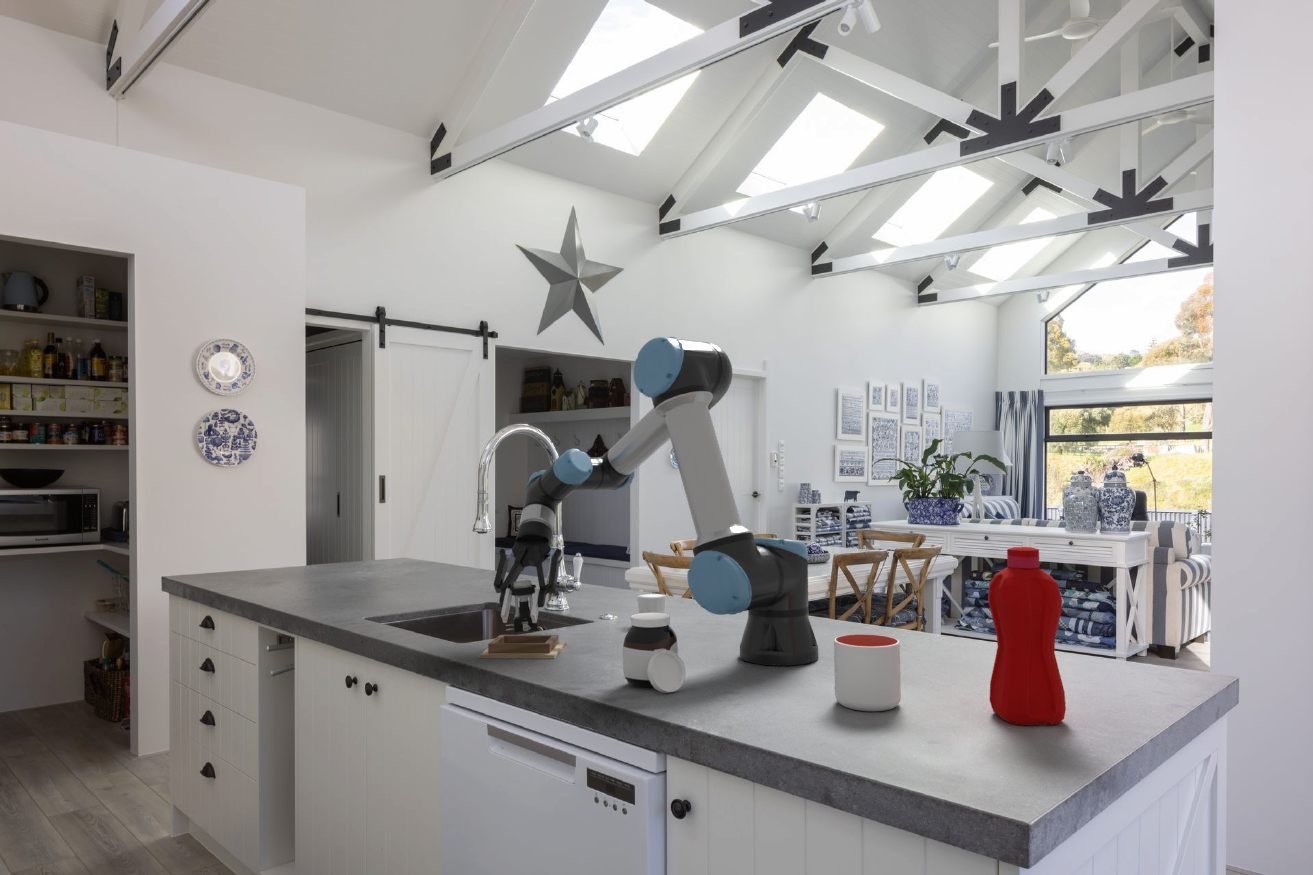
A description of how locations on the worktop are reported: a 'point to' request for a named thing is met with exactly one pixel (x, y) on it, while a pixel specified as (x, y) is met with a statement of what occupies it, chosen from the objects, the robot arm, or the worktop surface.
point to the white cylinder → (651, 603)
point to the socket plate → (524, 646)
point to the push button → (523, 606)
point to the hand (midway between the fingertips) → (518, 618)
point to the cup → (867, 672)
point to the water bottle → (1026, 642)
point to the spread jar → (652, 654)
